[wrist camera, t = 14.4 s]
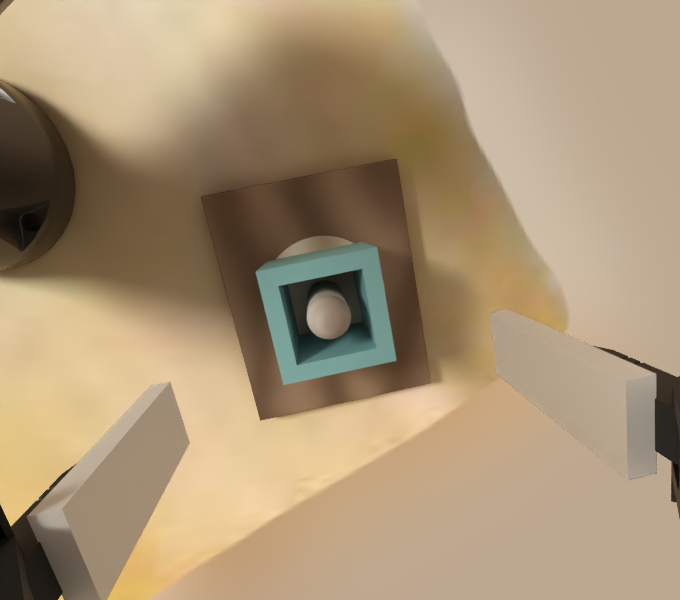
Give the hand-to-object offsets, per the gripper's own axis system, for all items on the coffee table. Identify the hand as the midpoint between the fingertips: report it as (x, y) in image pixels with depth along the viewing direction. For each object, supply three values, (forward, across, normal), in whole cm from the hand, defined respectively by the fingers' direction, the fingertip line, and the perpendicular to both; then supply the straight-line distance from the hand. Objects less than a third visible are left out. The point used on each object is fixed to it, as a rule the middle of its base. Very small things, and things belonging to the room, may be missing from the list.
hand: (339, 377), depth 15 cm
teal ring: (+17, 0, 0) cm, 17 cm away
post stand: (+19, 0, 0) cm, 19 cm away
